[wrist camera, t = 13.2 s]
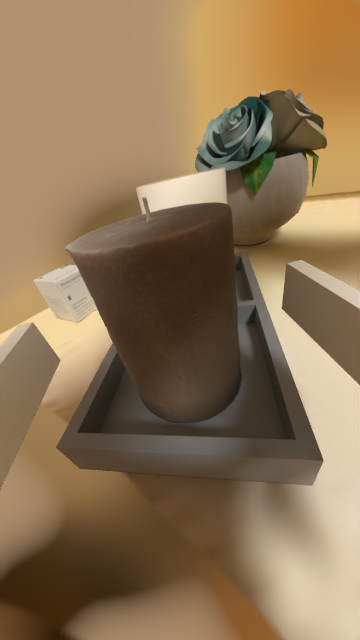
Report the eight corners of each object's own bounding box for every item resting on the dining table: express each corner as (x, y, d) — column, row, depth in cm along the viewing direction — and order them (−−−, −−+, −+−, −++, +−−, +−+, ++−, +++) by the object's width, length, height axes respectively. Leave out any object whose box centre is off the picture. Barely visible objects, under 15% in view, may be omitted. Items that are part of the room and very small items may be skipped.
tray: (246, 271, 38) (246, 252, 36) (312, 485, 13) (323, 460, 11) (159, 282, 41) (154, 265, 39) (79, 468, 16) (56, 447, 14)
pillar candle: (266, 381, 18) (277, 168, 10) (166, 453, 15) (56, 229, 7) (200, 330, 26) (175, 184, 17) (124, 370, 22) (48, 216, 14)
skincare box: (78, 324, 34) (54, 282, 30) (56, 318, 37) (31, 280, 33) (104, 303, 38) (87, 264, 34) (83, 300, 41) (64, 264, 37)
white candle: (229, 276, 35) (223, 166, 27) (235, 310, 27) (228, 168, 19) (171, 283, 37) (147, 183, 29) (160, 316, 29) (123, 192, 21)
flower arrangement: (341, 238, 41) (387, 45, 28) (218, 271, 40) (201, 85, 26) (271, 219, 62) (277, 102, 48) (187, 240, 60) (169, 126, 46)
